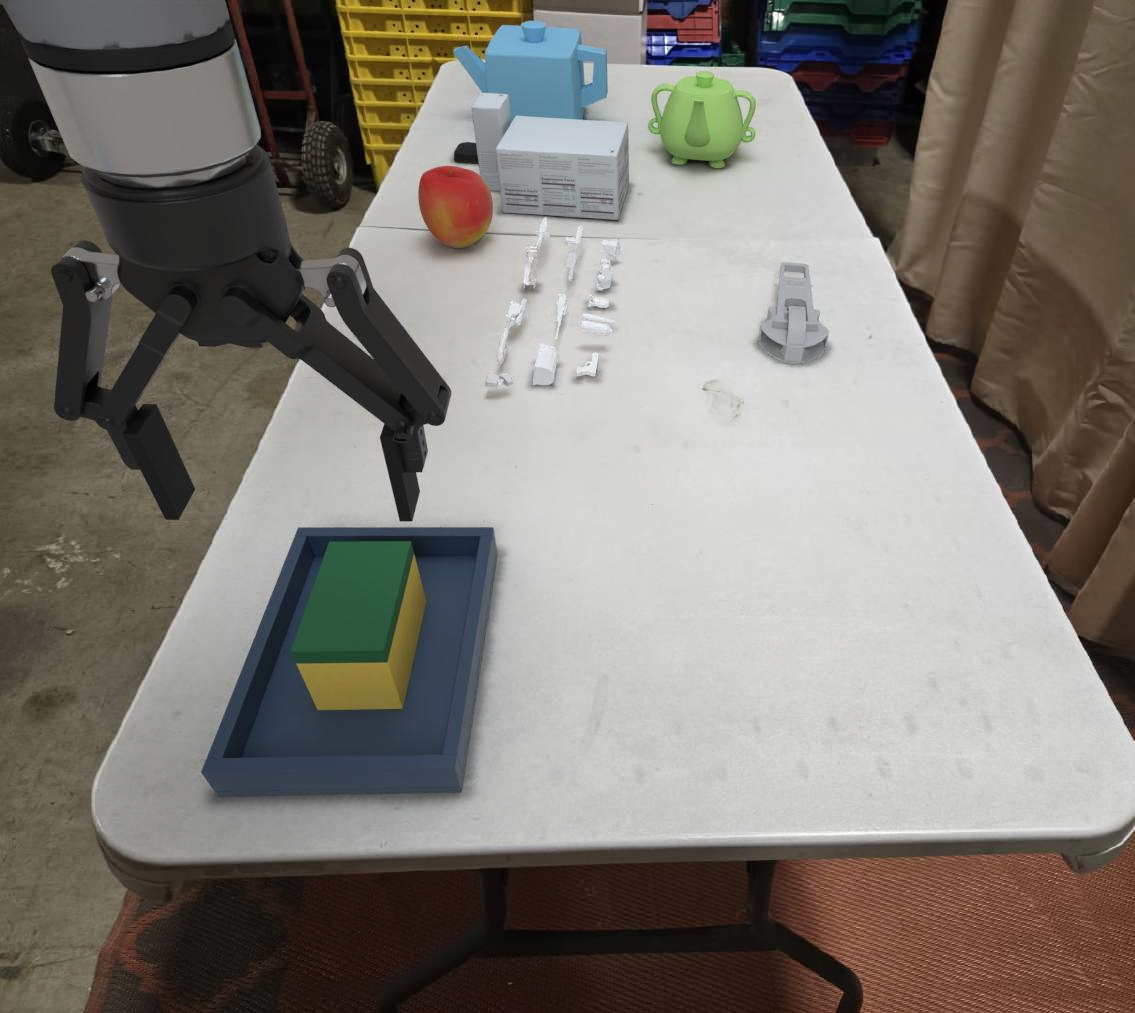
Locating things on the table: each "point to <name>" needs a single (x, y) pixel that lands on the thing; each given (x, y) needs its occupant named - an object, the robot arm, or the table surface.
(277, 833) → the table surface
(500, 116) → the cosmetic box
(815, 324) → the zipper pull
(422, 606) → the sponge
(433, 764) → the tray
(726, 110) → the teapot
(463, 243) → the apple
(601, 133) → the supplement box
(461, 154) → the remote control
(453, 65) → the table surface
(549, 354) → the miniature set
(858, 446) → the table surface
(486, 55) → the container
